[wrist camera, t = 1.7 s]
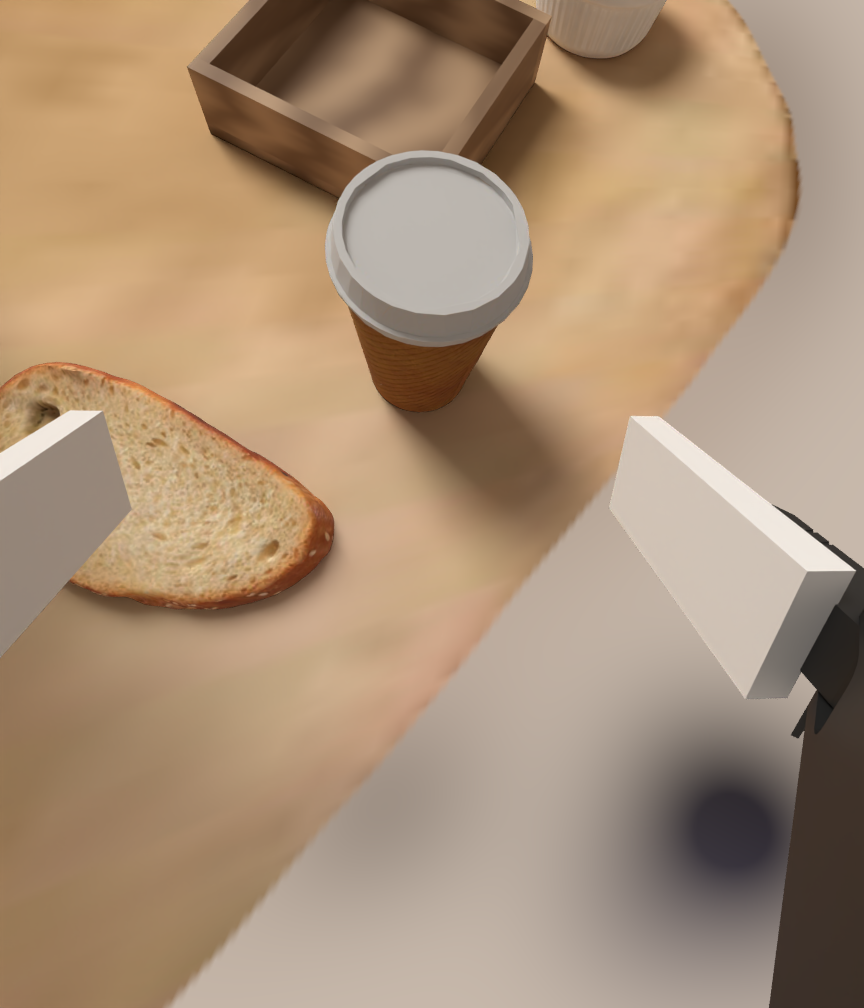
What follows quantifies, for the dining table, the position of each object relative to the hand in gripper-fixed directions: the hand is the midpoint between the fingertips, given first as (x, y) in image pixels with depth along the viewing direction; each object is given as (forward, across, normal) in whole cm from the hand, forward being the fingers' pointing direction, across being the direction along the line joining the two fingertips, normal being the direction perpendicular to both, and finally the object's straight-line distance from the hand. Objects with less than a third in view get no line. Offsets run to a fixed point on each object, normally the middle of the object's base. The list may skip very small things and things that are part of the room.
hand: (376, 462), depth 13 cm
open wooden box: (+37, -1, +13) cm, 39 cm away
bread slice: (+16, -14, -9) cm, 23 cm away
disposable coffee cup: (+22, +2, -3) cm, 22 cm away
